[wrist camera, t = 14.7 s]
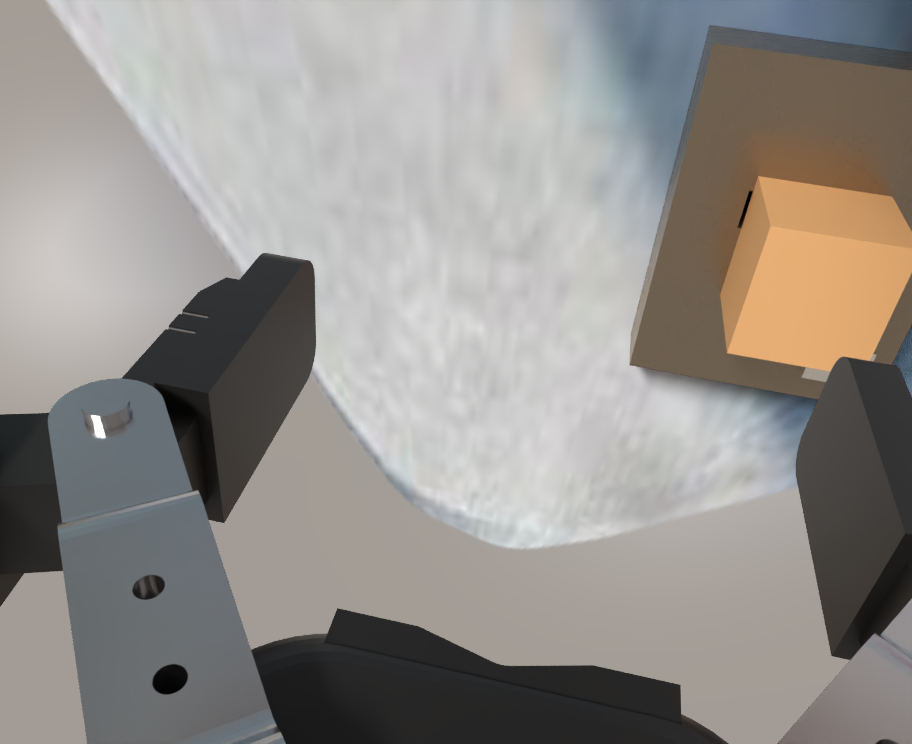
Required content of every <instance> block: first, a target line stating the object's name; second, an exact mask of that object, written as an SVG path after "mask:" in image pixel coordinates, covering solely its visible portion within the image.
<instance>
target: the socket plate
mask: <svg viewBox="0 0 912 744" xmlns="http://www.w3.org/2000/svg"><path fill="white" fill-rule="evenodd" d="M758 176H761V177H767V178H774V179H780V180H787V181H793V182H800V183H806V184H813V185H819V186H826V187H832V188H839V189H845V190H852V191H858V192H865V193H871V194H878V195H884V196H891V197H893V199H894V201H895V202H896V204H897V206H898V208H899V210H900V211H901V213H902V215H903V217H904V219H905V220H906V222H907V224H908V226H909V228H910V229H911V231H912V53H908V52H901V51H894V50H887V49H879V48H872V47H865V46H857V45H850V44H843V43H835V42H828V41H821V40H813V39H806V38H799V37H792V36H784V35H777V34H770V33H762V32H755V31H748V30H740V29H733V28H726V27H718V26H711V25H710V27H709V30H708V34H707V38H706V42H705V46H704V50H703V54H702V58H701V62H700V66H699V70H698V74H697V77H696V81H695V85H694V89H693V93H692V97H691V101H690V105H689V109H688V113H687V117H686V121H685V124H684V128H683V132H682V136H681V140H680V144H679V148H678V152H677V156H676V160H675V164H674V168H673V172H672V175H671V179H670V183H669V187H668V191H667V195H666V199H665V203H664V207H663V211H662V215H661V219H660V222H659V226H658V230H657V234H656V238H655V242H654V246H653V250H652V254H651V258H650V262H649V266H648V269H647V273H646V277H645V281H644V285H643V289H642V293H641V297H640V301H639V305H638V309H637V313H636V316H635V320H634V324H633V328H632V332H631V345H630V365H632V366H637V367H643V368H648V369H654V370H659V371H665V372H670V373H676V374H681V375H687V376H692V377H698V378H703V379H709V380H714V381H720V382H725V383H730V384H736V385H741V386H747V387H752V388H758V389H763V390H769V391H774V392H780V393H785V394H791V395H796V396H802V397H807V398H813V399H819V396H820V394H821V392H822V390H823V387H824V385H825V383H826V381H827V378H828V376H829V374H830V371H825V370H819V369H814V368H808V367H802V366H797V365H791V364H785V363H780V362H774V361H768V360H763V359H757V358H752V357H746V356H740V355H735V354H729V353H727V348H726V340H725V331H724V323H723V314H722V306H721V298H720V294H721V291H722V287H723V284H724V281H725V278H726V275H727V272H728V269H729V266H730V262H731V259H732V256H733V253H734V250H735V247H736V244H737V241H738V237H739V234H740V231H741V228H742V225H743V222H744V219H745V216H746V213H747V209H748V206H749V203H745V202H746V199H747V196H748V193H749V191H754V188H755V184H756V181H757V178H758ZM911 325H912V273H911V275H910V277H909V279H908V282H907V284H906V286H905V288H904V290H903V292H902V294H901V296H900V298H899V301H898V303H897V305H896V307H895V309H894V311H893V313H892V315H891V317H890V320H889V322H888V324H887V326H886V328H885V330H884V332H883V334H882V336H881V339H880V341H879V343H878V345H877V347H876V349H875V351H874V353H873V355H872V358H871V360H870V361H873V362H878V363H884V364H889V365H892V363H893V361H894V359H895V357H896V355H897V353H898V351H899V349H900V347H901V345H902V343H903V341H904V339H905V337H906V335H907V333H908V331H909V329H910V327H911Z"/></svg>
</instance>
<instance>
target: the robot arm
mask: <svg viewBox="0 0 912 744" xmlns="http://www.w3.org/2000/svg"><path fill="white" fill-rule="evenodd" d="M315 349H316V325H315V277H314V268H313V265H312V263H311V262H310V261H308V260H302V259H297V258H291V257H285V256H280V255H274V254H268V253H263V254H261V255H260V256H259V257H258V258H257V260H256V261H255V262H254V263H253V264H252V266H251V267H250V268H249V269H248V270H247V271H246V273H245V274H244V275H243V276H242V277H241V279H240V280H237V279H231V278H225V279H223V280H221V281H219V282H217V283H215V284H213V285H211V286H209V287H207V288H205V289H203V290H201V291H200V292H198V294H197V295H196V296H195V297H194V298H193V299H192V300H191V301H190V303H189V304H188V305H187V306H186V307H185V308H184V309H183V312H182V314H179V315H178V316H177V317H176V318H175V319H174V321H173V322H172V323H171V324H170V325H169V329H168V330H165V331H164V332H163V333H162V334H161V335H160V336H159V337H158V338H157V339H156V341H155V342H154V343H153V344H152V345H151V346H150V347H149V348H148V349H147V351H146V352H145V353H144V354H143V355H142V356H141V357H140V358H139V360H138V361H137V362H136V363H135V364H134V365H133V366H132V367H131V369H130V370H129V371H128V372H127V373H126V374H125V375H124V376H123V377H122V379H107V380H100V381H96V382H92V383H88V384H86V385H83V386H80V387H78V388H76V389H74V390H72V391H70V392H69V393H67V394H65V395H64V396H63V397H62V398H60V399H59V400H58V401H57V402H56V403H55V405H54V406H53V408H52V409H51V411H50V413H41V414H40V413H39V414H5V415H0V606H1V605H2V604H3V602H4V601H5V599H6V598H7V597H8V595H9V594H10V592H11V591H12V590H13V588H14V587H15V585H16V584H17V582H18V581H19V580H20V578H21V577H22V576H23V574H24V573H34V572H49V571H63V573H64V581H65V588H66V595H67V602H68V610H69V617H70V624H71V631H72V638H73V645H74V652H75V660H76V667H77V674H78V682H79V689H80V696H81V703H82V710H83V718H84V724H85V732H86V739H87V744H728V743H727V742H726V741H724V740H723V739H722V738H720V737H719V736H718V735H716V734H715V733H714V732H712V731H710V730H709V729H707V728H705V727H704V726H702V725H701V724H699V723H697V722H696V721H694V720H692V719H690V718H688V717H686V716H684V715H682V714H681V694H680V685H678V684H674V683H669V682H665V681H660V680H656V679H651V678H647V677H642V676H638V675H633V674H629V673H624V672H620V671H615V670H611V669H606V668H602V667H597V666H504V665H499V664H496V663H493V662H491V661H489V660H487V659H485V658H483V657H481V656H479V655H477V654H475V653H473V652H470V651H469V650H466V649H464V648H462V647H460V646H458V645H456V644H454V643H452V642H450V641H448V640H446V639H444V638H441V637H439V636H437V635H435V634H433V633H431V632H429V631H427V630H425V629H423V628H421V627H418V626H414V625H409V624H405V623H400V622H396V621H391V620H387V619H382V618H378V617H373V616H369V615H365V614H360V613H356V612H351V611H347V610H342V609H337V611H336V614H335V616H334V619H333V621H332V624H331V626H330V629H329V631H328V634H312V635H303V636H295V637H291V638H287V639H282V640H278V641H274V642H272V643H269V644H266V645H263V646H260V647H257V648H254V649H252V650H251V648H250V645H249V642H248V639H247V636H246V633H245V630H244V627H243V624H242V621H241V618H240V615H239V612H238V609H237V606H236V602H235V599H234V596H233V594H232V590H231V587H230V584H229V581H228V578H227V575H226V572H225V569H224V566H223V562H222V560H221V557H220V554H219V551H218V547H217V544H216V541H215V538H214V535H213V532H212V529H211V526H210V523H209V520H213V521H217V522H222V523H224V522H225V521H226V519H227V517H228V516H229V514H230V512H231V510H232V509H233V507H234V505H235V503H236V502H237V500H238V498H239V497H240V495H241V493H242V492H243V490H244V488H245V486H246V485H247V483H248V481H249V479H250V478H251V476H252V474H253V473H254V471H255V469H256V468H257V466H258V464H259V462H260V461H261V459H262V457H263V456H264V454H265V452H266V450H267V449H268V447H269V445H270V443H271V442H272V440H273V438H274V437H275V435H276V433H277V432H278V430H279V428H280V426H281V425H282V423H283V421H284V419H285V418H286V416H287V414H288V413H289V411H290V409H291V408H292V406H293V404H294V402H295V401H296V399H297V397H298V396H299V394H300V392H301V390H302V389H303V387H304V385H305V384H306V382H307V380H308V378H309V375H310V373H311V370H312V366H313V362H314V357H315ZM796 477H797V483H798V488H799V493H800V498H801V503H802V508H803V513H804V518H805V523H806V528H807V533H808V538H809V544H810V549H811V554H812V558H813V564H814V569H815V574H816V579H817V583H818V589H819V594H820V600H821V605H822V610H823V615H824V619H825V625H826V630H827V635H828V640H829V645H830V650H831V655H832V656H835V657H839V658H843V659H848V660H850V661H849V662H848V664H847V665H846V666H845V667H844V668H843V669H842V670H841V672H840V673H839V674H838V675H837V676H836V677H835V678H834V680H833V681H832V682H831V683H830V684H829V685H828V687H826V689H825V690H824V691H823V692H822V693H821V694H820V695H819V697H818V698H817V699H816V700H815V702H813V703H812V705H811V706H810V707H809V708H808V709H807V710H806V712H805V713H804V714H803V715H802V716H801V717H800V719H799V720H798V721H797V722H796V723H795V724H794V725H793V726H792V728H791V729H790V730H789V731H788V732H787V733H786V734H785V736H784V737H783V738H782V739H781V740H780V741H779V742H778V744H912V397H911V395H910V392H909V390H908V387H907V385H906V383H905V380H904V378H903V375H902V373H901V371H900V369H899V368H898V367H897V366H895V365H889V364H884V363H878V362H873V361H867V360H861V359H856V358H850V357H841V358H839V359H838V360H837V361H836V363H835V364H834V366H833V368H832V370H831V372H830V374H829V376H828V378H827V381H826V383H825V385H824V387H823V390H822V392H821V394H820V396H819V399H818V401H817V403H816V405H815V408H814V410H813V412H812V414H811V417H810V419H809V421H808V423H807V426H806V428H805V430H804V432H803V435H802V437H801V440H800V444H799V447H798V452H797V459H796Z"/></svg>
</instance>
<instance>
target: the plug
mask: <svg viewBox="0 0 912 744" xmlns="http://www.w3.org/2000/svg"><path fill="white" fill-rule="evenodd" d="M911 273H912V231H911V229H910V228H909V226H908V224H907V222H906V220H905V219H904V217H903V215H902V213H901V211H900V210H899V208H898V206H897V204H896V202H895V201H894V199H893V197H891V196H884V195H878V194H871V193H865V192H858V191H852V190H845V189H839V188H832V187H826V186H819V185H813V184H806V183H800V182H793V181H787V180H780V179H774V178H767V177H761V176H758V178H757V181H756V184H755V188H754V191H753V193H752V196H751V200H750V203H749V206H748V209H747V213H746V216H745V219H744V222H743V225H742V228H741V231H740V234H739V237H738V241H737V244H736V247H735V250H734V253H733V256H732V259H731V262H730V266H729V269H728V272H727V275H726V278H725V281H724V284H723V287H722V291H721V294H720V298H721V306H722V314H723V323H724V331H725V340H726V348H727V353H729V354H735V355H740V356H746V357H752V358H757V359H763V360H768V361H774V362H780V363H785V364H791V365H797V366H802V367H808V368H814V369H819V370H825V371H830V372H831V370H832V368H833V366H834V364H835V363H836V361H837V360H838V359H839V358H841V357H850V358H856V359H861V360H867V361H870V360H871V358H872V355H873V353H874V351H875V349H876V347H877V345H878V343H879V341H880V339H881V336H882V334H883V332H884V330H885V328H886V326H887V324H888V322H889V320H890V317H891V315H892V313H893V311H894V309H895V307H896V305H897V303H898V301H899V298H900V296H901V294H902V292H903V290H904V288H905V286H906V284H907V282H908V279H909V277H910V275H911Z"/></svg>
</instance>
